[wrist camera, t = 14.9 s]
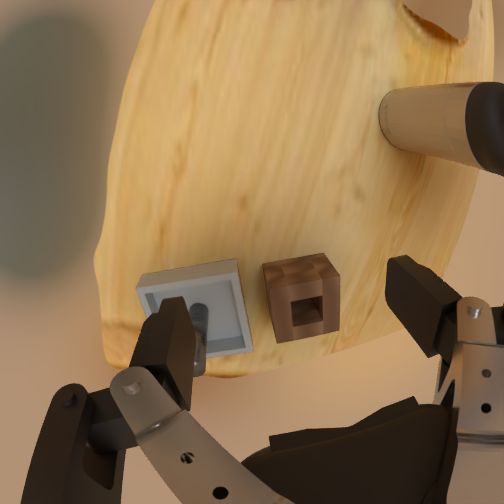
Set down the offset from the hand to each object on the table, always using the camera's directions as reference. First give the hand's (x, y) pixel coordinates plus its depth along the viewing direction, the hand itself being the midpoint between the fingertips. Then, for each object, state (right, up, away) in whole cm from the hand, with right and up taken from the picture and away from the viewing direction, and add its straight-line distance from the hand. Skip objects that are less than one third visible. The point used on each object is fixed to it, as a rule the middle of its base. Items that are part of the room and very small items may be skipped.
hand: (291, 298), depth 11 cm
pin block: (+5, -3, +33) cm, 33 cm away
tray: (-10, -7, +33) cm, 35 cm away
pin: (-9, -7, +32) cm, 34 cm away
